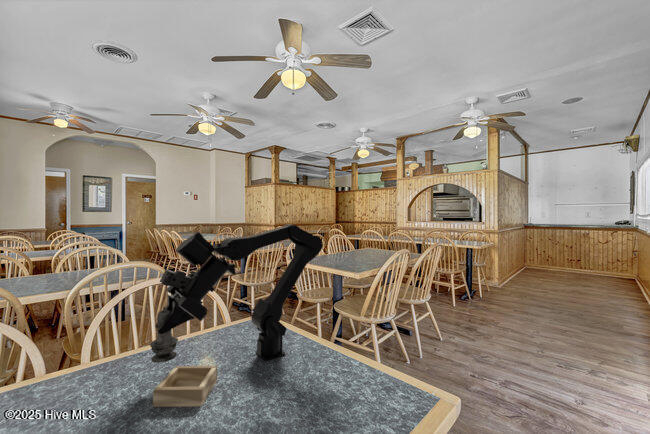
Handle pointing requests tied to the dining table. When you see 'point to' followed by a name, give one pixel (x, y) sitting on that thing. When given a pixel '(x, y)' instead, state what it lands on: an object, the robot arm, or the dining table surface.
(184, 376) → the wooden tray
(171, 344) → the dark grey chess piece
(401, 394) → the dining table surface
